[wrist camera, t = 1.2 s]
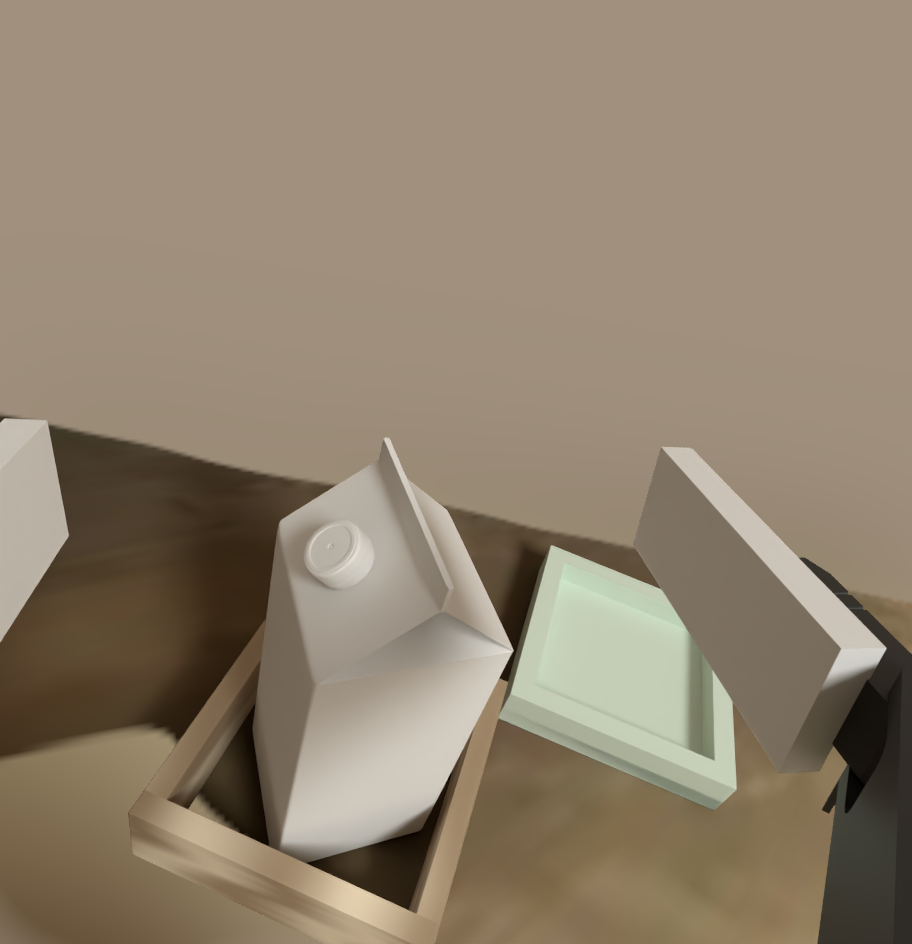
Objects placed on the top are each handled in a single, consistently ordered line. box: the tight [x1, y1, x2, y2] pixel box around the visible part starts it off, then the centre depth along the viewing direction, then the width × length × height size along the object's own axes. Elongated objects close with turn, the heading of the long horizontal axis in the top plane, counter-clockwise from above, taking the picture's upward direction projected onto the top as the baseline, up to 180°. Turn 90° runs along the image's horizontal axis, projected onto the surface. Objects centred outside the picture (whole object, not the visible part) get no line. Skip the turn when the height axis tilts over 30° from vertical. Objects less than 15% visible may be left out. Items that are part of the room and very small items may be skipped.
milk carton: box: [253, 438, 513, 863], centre depth 28 cm, size 7×7×19 cm
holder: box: [128, 619, 508, 944], centre depth 32 cm, size 13×13×4 cm
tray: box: [498, 545, 737, 810], centre depth 42 cm, size 13×13×2 cm
